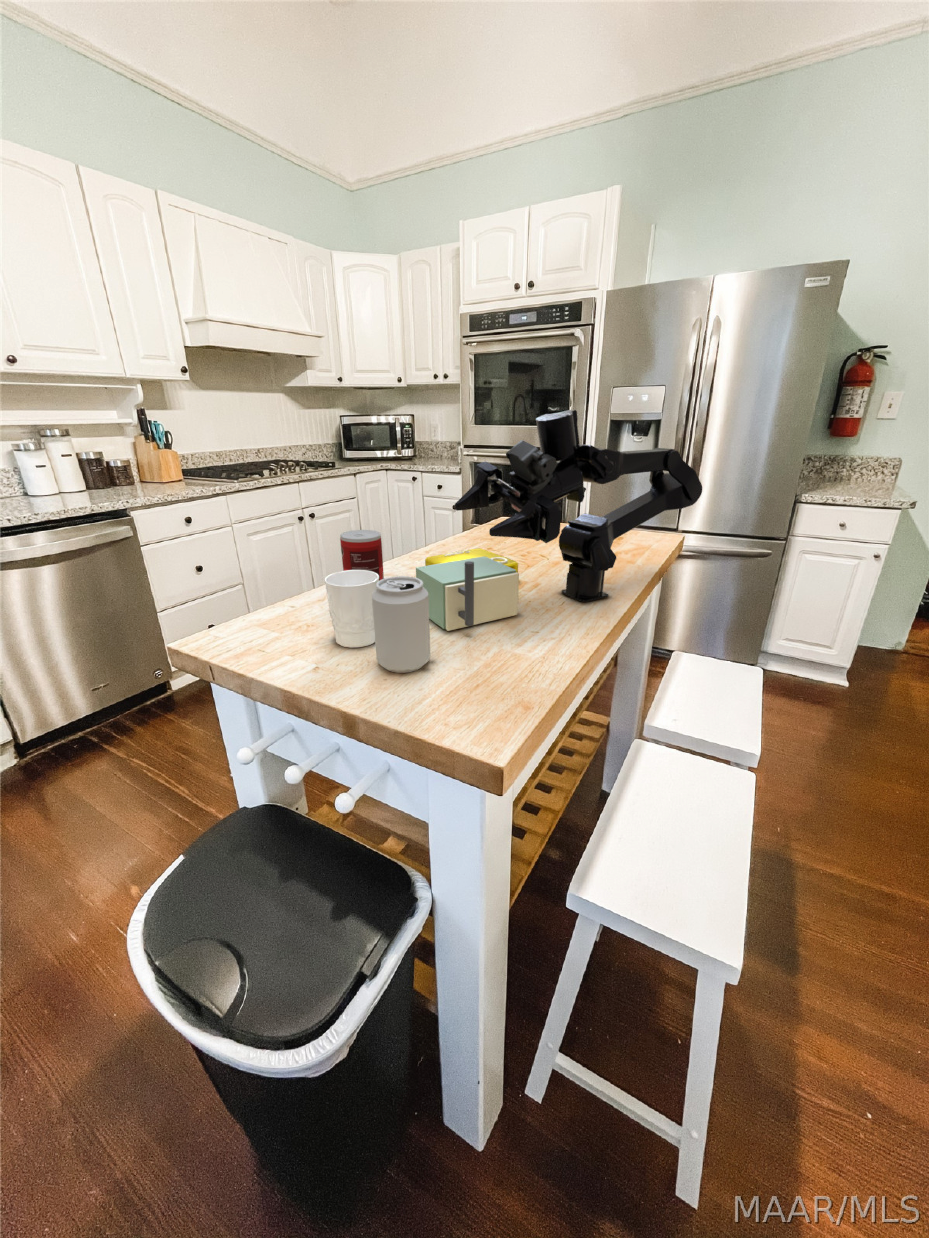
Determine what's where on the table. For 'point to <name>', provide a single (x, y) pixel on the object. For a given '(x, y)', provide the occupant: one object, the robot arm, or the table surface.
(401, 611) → the can
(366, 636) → the white cup
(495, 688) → the table surface
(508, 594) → the fridge door
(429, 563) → the element tile
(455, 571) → the mini fridge
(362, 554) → the canned food
